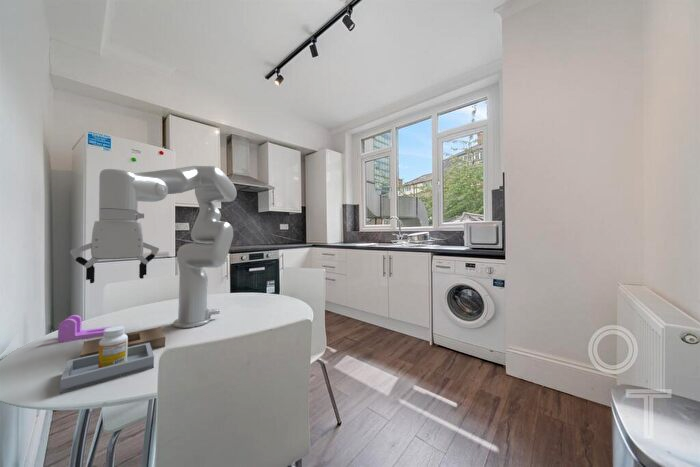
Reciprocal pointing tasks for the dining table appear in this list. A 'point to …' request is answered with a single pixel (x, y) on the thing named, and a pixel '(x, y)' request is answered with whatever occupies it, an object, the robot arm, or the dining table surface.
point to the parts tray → (105, 368)
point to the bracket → (76, 330)
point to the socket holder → (129, 341)
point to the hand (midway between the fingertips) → (118, 280)
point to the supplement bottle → (113, 347)
